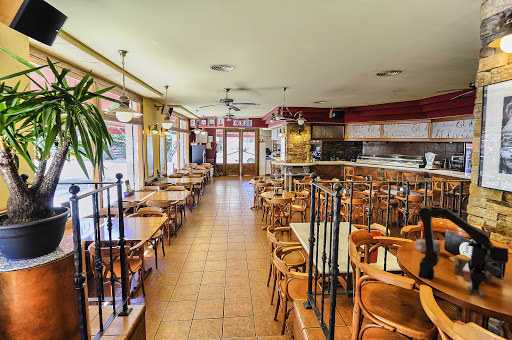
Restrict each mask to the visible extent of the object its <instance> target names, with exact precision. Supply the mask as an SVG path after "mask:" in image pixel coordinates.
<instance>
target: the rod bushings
mask: <svg viewBox="0 0 512 340" xmlns="http://www.w3.org/2000/svg"><path fill="white" fill-rule="evenodd" d="M477 293H478V297H479V298H480V299H483V290H482V289H481V288H479V289H478V292H477ZM467 295H468V296H471V295H472V290H471V285H470V286H469V285H468V286H467Z"/></svg>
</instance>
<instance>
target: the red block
mask: <svg viewBox="0 0 512 340" xmlns="http://www.w3.org/2000/svg"><path fill="white" fill-rule="evenodd" d="M462 279H463V280H465V281H469V283H470V287H471V292H476V293H478V291H479V289H480V288H478V290H475V289H474V287H473V284H472V281H471V278H470V271H467V270H464V272H463V278H462ZM483 283H484V282H482V283H481V284H480V285H483Z"/></svg>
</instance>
